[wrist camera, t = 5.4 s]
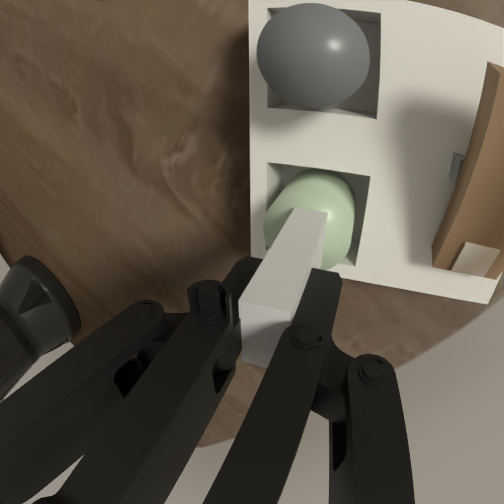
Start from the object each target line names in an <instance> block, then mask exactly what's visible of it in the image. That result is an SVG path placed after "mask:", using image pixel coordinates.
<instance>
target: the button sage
mask: <svg viewBox="0 0 504 504" xmlns="http://www.w3.org/2000/svg"><path fill="white" fill-rule="evenodd" d="M294 208H302V209H308V210H314V211H321V212H327V213H328V217H327V226H326V234H325V242H324V250H323V258H322V265H321V268H320V269H322V270H328V269H330V268H332V267H334V266H336V265H337V264H338V263H340V262H341V261H342V260H343V258H344V257H345V256H346V254H347V252H348V250H349V248H350V244H351V239H352V232H353V225H354V218H355V211H356V199H355V195H354V192H353V190H352V188H351V186H350V184H349V183H348V182H347V181H346V180H345V179H344V178H343V177H342V176H341V175H339V174H338V173H336V172H334V171H332V170H327V169H319V168H309V169H306V170H303V171H301V172H299V173H298V174H296V175H295V176H294V177H293V178H292V179H291V180H290V181H289V183H288V184H287V185H286V187H285V188H284V189H283V191H282V192H281V193H280V194H279V196H278V197H277V198H276V200H275V201H274V202H273V204H272V205H271V206H270V208H269V209H268V211H267V213H266V215H265V218H264V223H263V233H264V238H265V241H266V243H267V245H268V247H269V249H270V248H271V246H272V244H273V243H274V241H275V239H276V238H277V236H278V234H279V233H280V231H281V229H282V228H283V226H284V224H285V223H286V221H287V219H288V218H289V216H290V214H291V213H292V211H293V209H294Z"/></svg>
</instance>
